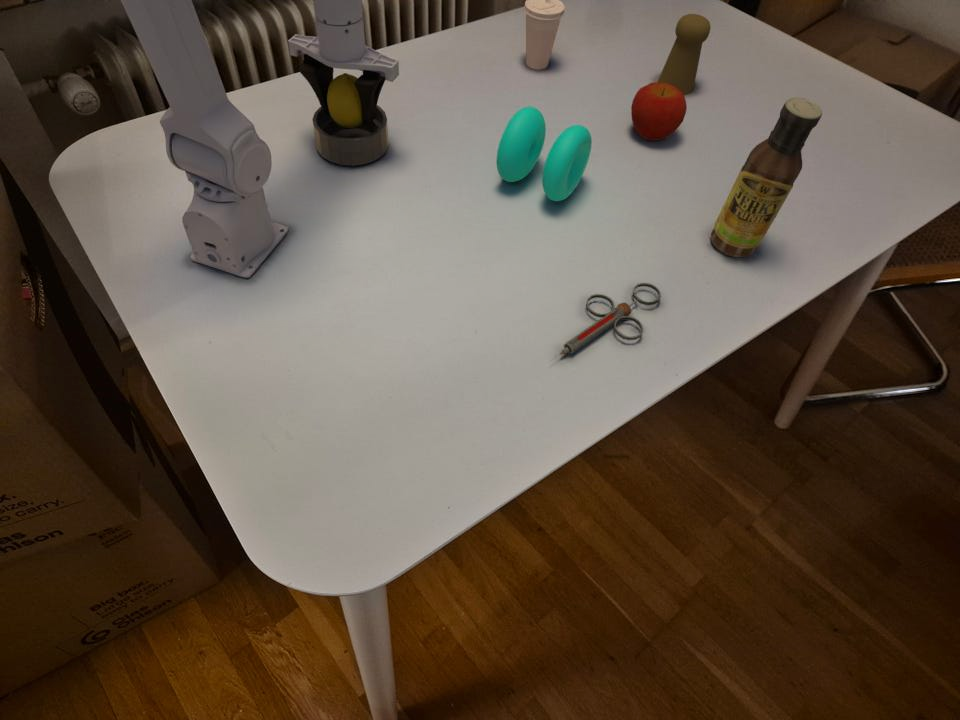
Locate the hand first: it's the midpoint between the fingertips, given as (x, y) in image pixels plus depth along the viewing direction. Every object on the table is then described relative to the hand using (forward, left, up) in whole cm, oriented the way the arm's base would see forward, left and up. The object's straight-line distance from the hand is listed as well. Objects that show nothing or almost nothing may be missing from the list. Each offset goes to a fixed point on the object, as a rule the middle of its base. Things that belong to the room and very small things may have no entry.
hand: (349, 116), depth 91 cm
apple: (+22, -39, -5) cm, 45 cm away
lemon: (0, 0, -2) cm, 2 cm away
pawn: (+38, -40, -5) cm, 55 cm away
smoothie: (+34, -17, -5) cm, 38 cm away
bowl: (0, 0, -5) cm, 5 cm away
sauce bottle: (+2, -54, -5) cm, 54 cm away
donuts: (+3, -27, -5) cm, 28 cm away
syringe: (-19, -42, -5) cm, 46 cm away
